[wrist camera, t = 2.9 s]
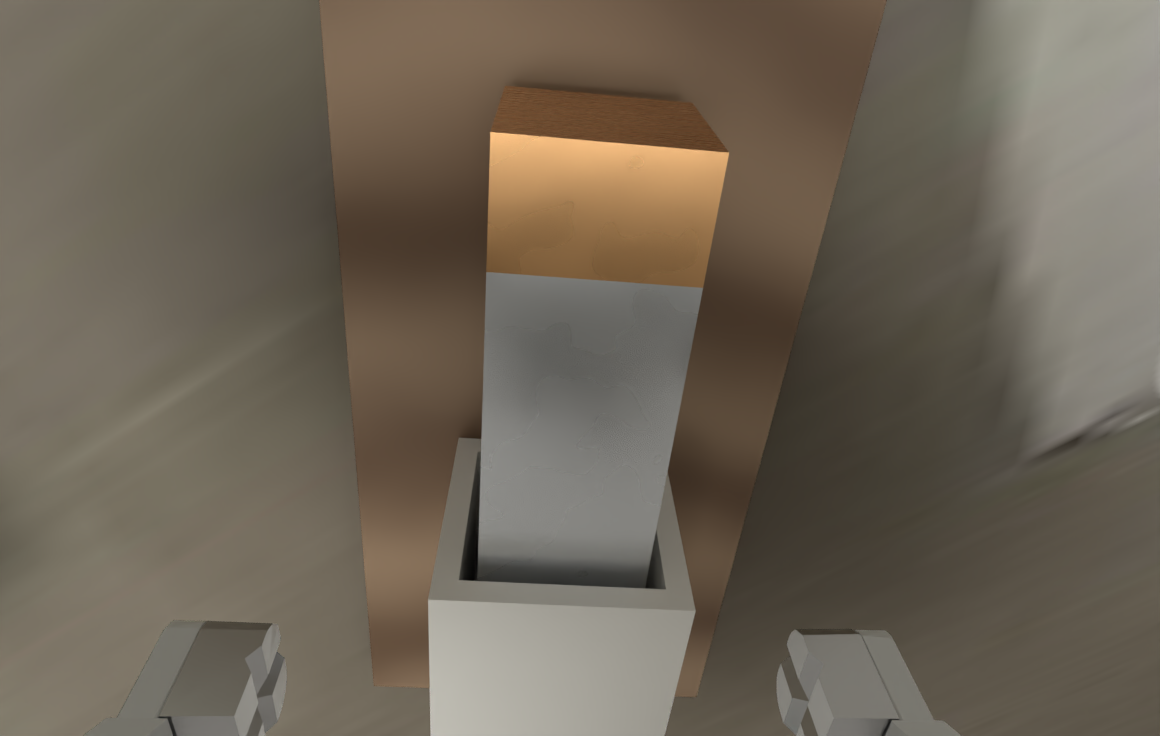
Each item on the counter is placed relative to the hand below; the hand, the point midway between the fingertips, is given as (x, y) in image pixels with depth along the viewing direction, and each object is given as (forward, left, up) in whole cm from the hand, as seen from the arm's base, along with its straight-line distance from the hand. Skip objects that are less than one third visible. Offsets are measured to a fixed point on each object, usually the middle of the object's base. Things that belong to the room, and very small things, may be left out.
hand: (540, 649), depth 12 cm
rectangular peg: (-1, +3, -9) cm, 9 cm away
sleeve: (-1, +8, -10) cm, 13 cm away
